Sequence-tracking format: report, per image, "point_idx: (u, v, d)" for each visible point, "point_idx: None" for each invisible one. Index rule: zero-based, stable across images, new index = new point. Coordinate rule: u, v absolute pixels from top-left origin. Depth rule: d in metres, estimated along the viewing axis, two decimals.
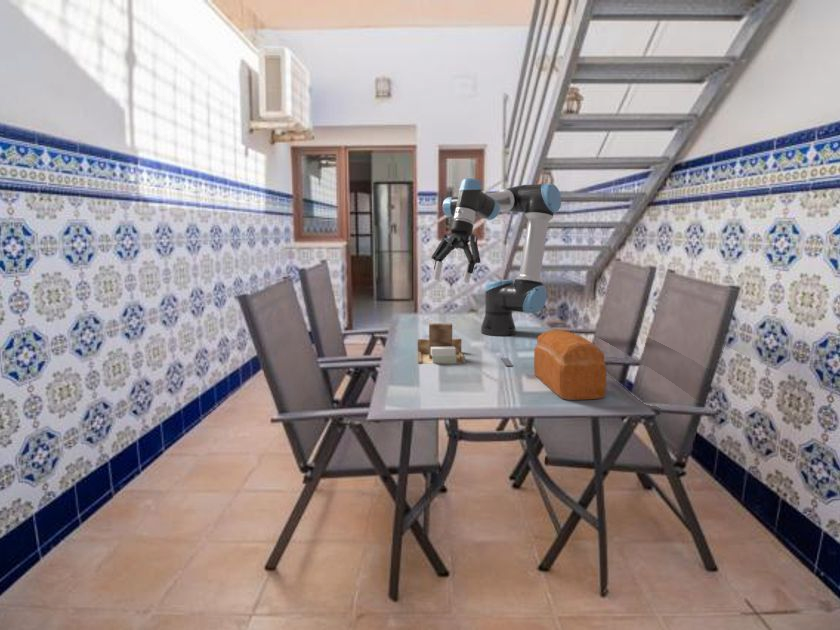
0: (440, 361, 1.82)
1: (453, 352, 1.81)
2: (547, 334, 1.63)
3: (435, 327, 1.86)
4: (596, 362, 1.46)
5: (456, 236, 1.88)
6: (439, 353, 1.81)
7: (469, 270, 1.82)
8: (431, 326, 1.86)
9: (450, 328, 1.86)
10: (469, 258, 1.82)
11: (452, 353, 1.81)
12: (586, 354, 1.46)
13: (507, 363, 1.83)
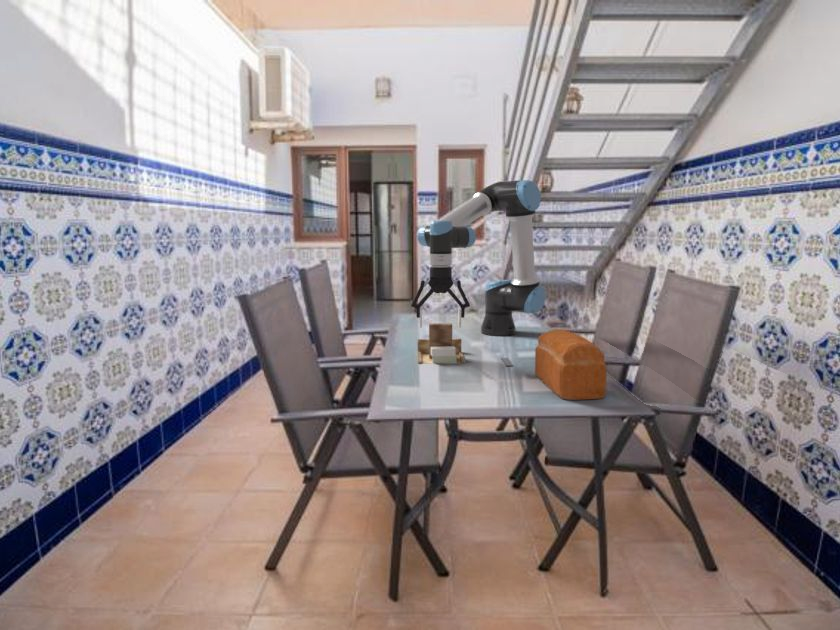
0: (440, 361, 1.82)
1: (453, 352, 1.81)
2: (548, 334, 1.63)
3: (435, 327, 1.86)
4: (595, 362, 1.46)
5: (438, 282, 1.84)
6: (439, 353, 1.81)
7: (462, 315, 1.86)
8: (431, 326, 1.86)
9: (450, 328, 1.86)
10: (461, 304, 1.85)
11: (452, 353, 1.81)
12: (586, 354, 1.46)
13: (507, 363, 1.83)
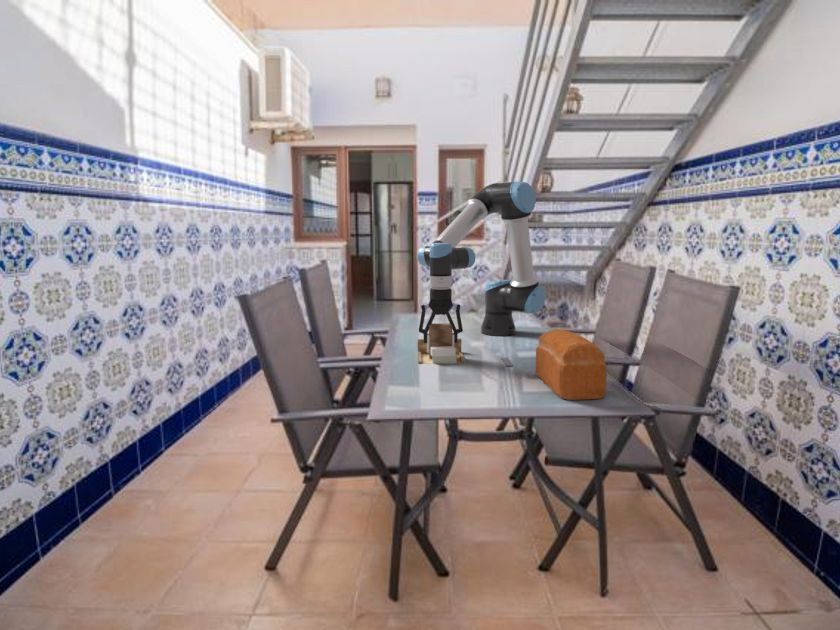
0: (440, 361, 1.82)
1: (453, 352, 1.81)
2: (548, 334, 1.63)
3: (435, 327, 1.86)
4: (595, 362, 1.46)
5: (438, 302, 1.85)
6: (439, 353, 1.81)
7: (456, 341, 1.88)
8: (431, 326, 1.86)
9: (450, 328, 1.86)
10: (455, 329, 1.86)
11: (452, 353, 1.81)
12: (586, 354, 1.46)
13: (507, 363, 1.83)
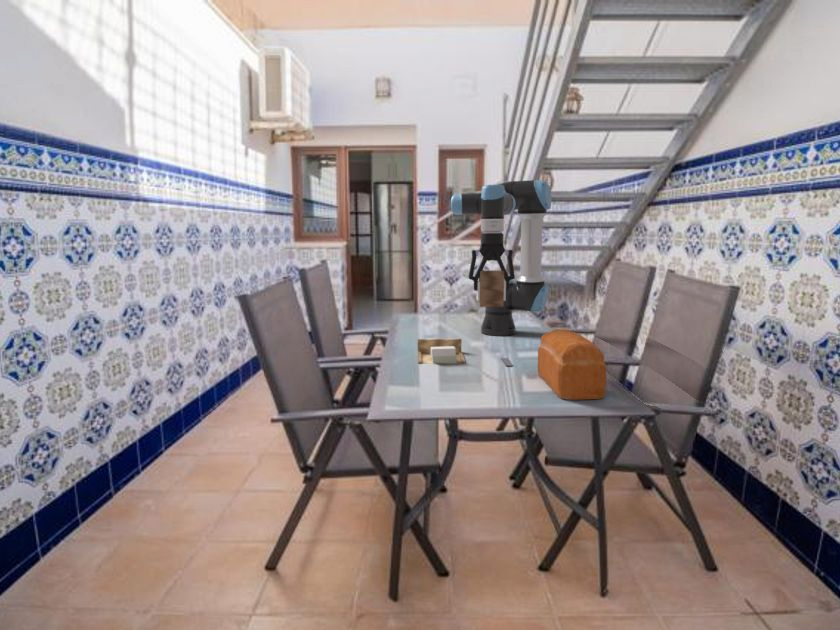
0: (440, 361, 1.82)
1: (453, 352, 1.81)
2: (550, 334, 1.63)
3: (486, 274, 1.79)
4: (595, 362, 1.46)
5: (489, 247, 1.78)
6: (439, 353, 1.81)
7: (507, 288, 1.81)
8: (482, 272, 1.79)
9: (502, 274, 1.79)
10: (506, 276, 1.80)
11: (452, 353, 1.81)
12: (585, 354, 1.45)
13: (507, 363, 1.83)
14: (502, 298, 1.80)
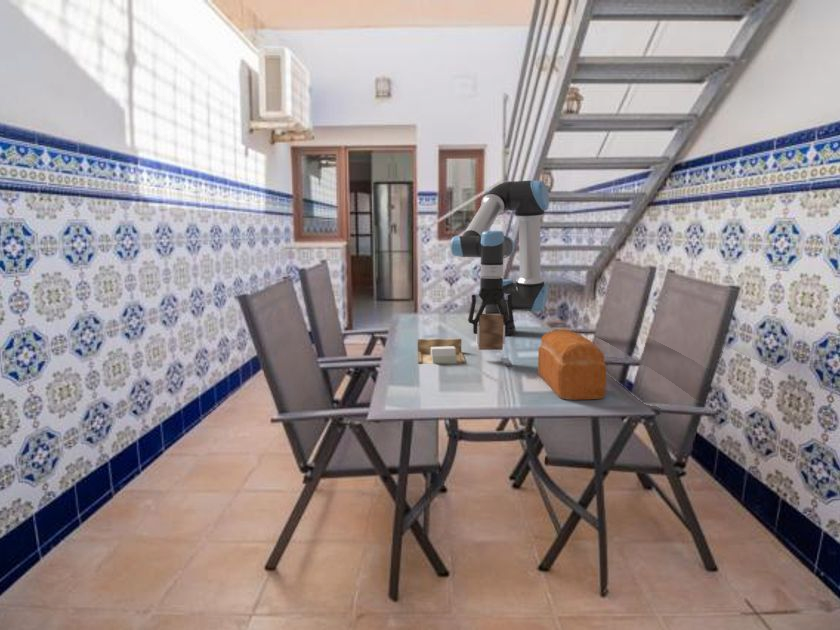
0: (440, 361, 1.82)
1: (453, 352, 1.81)
2: (550, 334, 1.63)
3: (485, 318, 1.81)
4: (595, 362, 1.46)
5: (489, 291, 1.80)
6: (439, 353, 1.81)
7: (506, 331, 1.83)
8: (482, 316, 1.81)
9: (501, 318, 1.82)
10: (505, 320, 1.82)
11: (452, 353, 1.81)
12: (585, 354, 1.45)
13: (507, 363, 1.83)
14: (501, 341, 1.83)
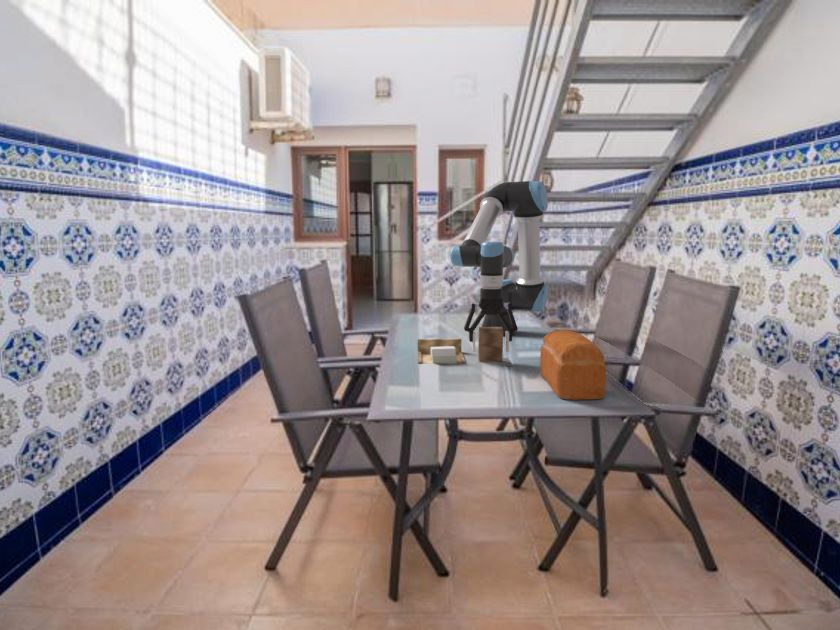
0: (440, 361, 1.82)
1: (453, 352, 1.81)
2: (552, 334, 1.63)
3: (485, 331, 1.82)
4: (594, 362, 1.46)
5: (489, 303, 1.81)
6: (439, 353, 1.81)
7: (510, 339, 1.84)
8: (481, 330, 1.82)
9: (501, 332, 1.82)
10: (509, 328, 1.83)
11: (452, 353, 1.81)
12: (584, 354, 1.45)
13: (507, 363, 1.83)
14: (501, 354, 1.84)
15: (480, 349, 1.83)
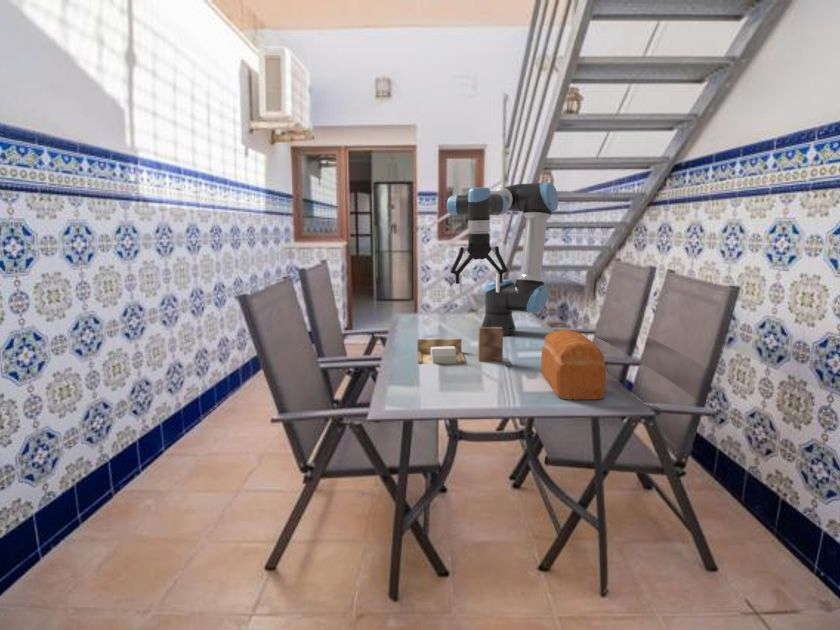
0: (440, 361, 1.82)
1: (453, 352, 1.81)
2: (553, 334, 1.63)
3: (485, 331, 1.82)
4: (594, 362, 1.45)
5: (477, 248, 1.88)
6: (439, 353, 1.81)
7: (501, 280, 1.91)
8: (481, 330, 1.82)
9: (501, 332, 1.82)
10: (499, 269, 1.90)
11: (452, 353, 1.81)
12: (584, 354, 1.45)
13: (507, 363, 1.83)
14: (501, 354, 1.84)
15: (480, 349, 1.83)
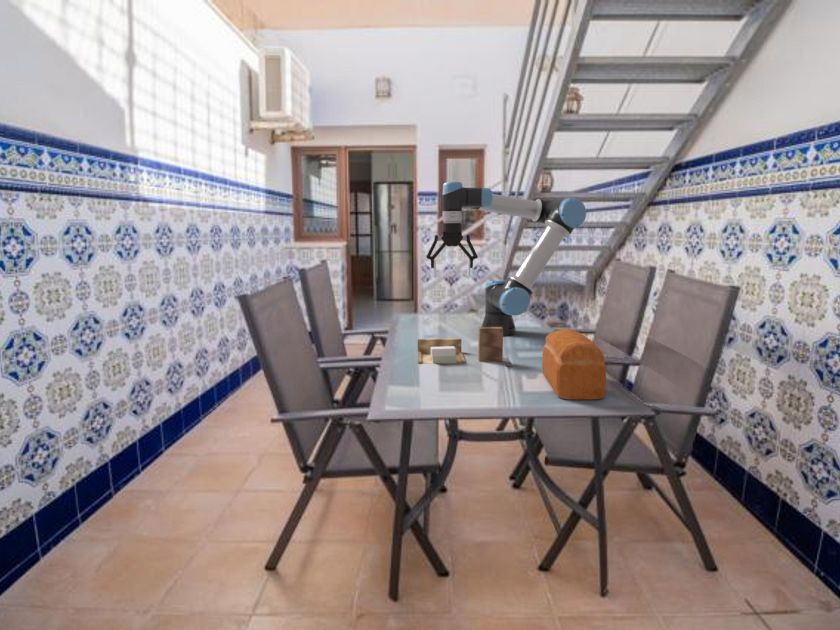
0: (440, 361, 1.82)
1: (453, 352, 1.81)
2: (554, 334, 1.64)
3: (485, 331, 1.82)
4: (594, 362, 1.45)
5: (450, 236, 2.10)
6: (439, 353, 1.81)
7: (471, 266, 2.12)
8: (481, 330, 1.82)
9: (501, 332, 1.82)
10: (470, 256, 2.11)
11: (452, 353, 1.81)
12: (584, 354, 1.45)
13: (507, 363, 1.83)
14: (501, 354, 1.84)
15: (480, 349, 1.83)
